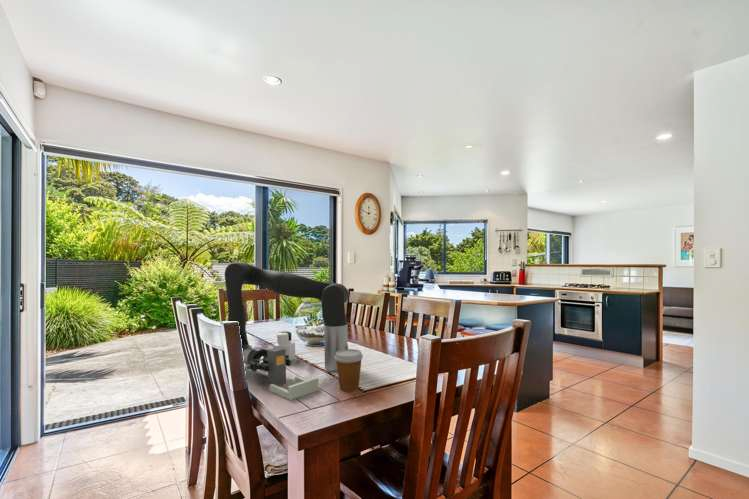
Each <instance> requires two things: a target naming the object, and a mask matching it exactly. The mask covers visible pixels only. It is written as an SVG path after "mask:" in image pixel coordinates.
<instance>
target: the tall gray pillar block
mask: <svg viewBox="0 0 749 499" xmlns="http://www.w3.org/2000/svg"><path fill="white" fill-rule="evenodd" d="M266 350H267V353H268V365H269V371H268V372H267V383H268V385H269V386H270V385H271V384H274V385H277V386H281V385H284V384H286V383H287V365H286V349H284V348H280V347H276V348H273V347H272V348H268V349H266Z"/></svg>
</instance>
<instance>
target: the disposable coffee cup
mask: <svg viewBox="0 0 749 499" xmlns="http://www.w3.org/2000/svg"><path fill="white" fill-rule="evenodd" d="M363 358H364V355H363V353H362V351H361V350H359V349H349V348H348V349H347V350H340V351H338V352H336V355H335V360H336V364H337V371H336V372H337V375H338V376H337V378H338V384H339V390H340V391H342V392H348V393H349V392H350V393H351V392H355V391H357V390H359V388H360V387H359V386H360V378H361V377H360V376H361V367H362V360H363Z"/></svg>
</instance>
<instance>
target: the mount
mask: <svg viewBox="0 0 749 499" xmlns="http://www.w3.org/2000/svg"><path fill="white" fill-rule="evenodd" d="M287 388H288V389H286V388H283V387H281V386H280V385H278V386H277V385H274V384H271V385H270V384H269V391H270V392H271V393H273V392H274V394H276V395H278V396H280V397H283V398H284V399H287V400H288V401H289V400H290V401H293V400H295V399H297V398H298V399H299V398H301V397H303V396H307V395H308V394H312V393H314V392H317V391H320V390H319V389H320V388H319V377H313V378H309V379H306V378H304V377H301V376H299V375H297V376H295V377H294V384H291V385H288V387H287Z"/></svg>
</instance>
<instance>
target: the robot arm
mask: <svg viewBox="0 0 749 499" xmlns="http://www.w3.org/2000/svg"><path fill="white" fill-rule="evenodd" d="M224 282H225V287H226V288H225V289H226V300H227V310H228V311H227V322H228V321H238V322H239V326H240V335H241V339H242V348H243V356H244V363H243V364H244V365H246V367H247V369H249V371H251V372H257V370H259V371H264V372H267V373H268V371H269V365H268V353H267V350H268V349H265V348H262V347H259V346H254V345H251V344H250V343H249V341H248V340H249V339H248V335H247V330H246V329H247V327H246V326H247V313H246V312H247V311H246V308H245V305H244V301H243V296H242V295H243V294H242V293H243V292H242V290H243V285H252V286H257V287H261V288H264V289H267V290H268V291H271V292H273V293H275V294H278V295H281V296H285V297H291V298H300V299H301V298H302V299H303V298H305V299H307V298H309V299H315V300H319V301H321V314H322V320H323V338H324V339H323V342H324V343H323V344H324V345H323V346H324V348H323V349H324V350H323V351H324V369H325V370H326V371H330V372H338V371H337V364H336V360H335V355H336V352H338V351H340V350H347V349H349V345H348V344H349V343H348V317H347V316H346V307H345V306H346V304H345V303H347V301H348V299H349V296H350V293H349V290H348V288H347V287H346V286H345V285H343V284H341V283H336V282H326V281H319V280H315V279H311V278H309V277H305V276H302V275H299V274H295V273H290V272H284V271H279V270H270V269H263V268H261V267H258V266H255V265H252V264H249V263H246V262H230V263H229V264H228V265H227V266H226V267H225V270H224ZM291 364H292V361H291V360H290V359H289V355H286V367H289V366H291Z"/></svg>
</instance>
